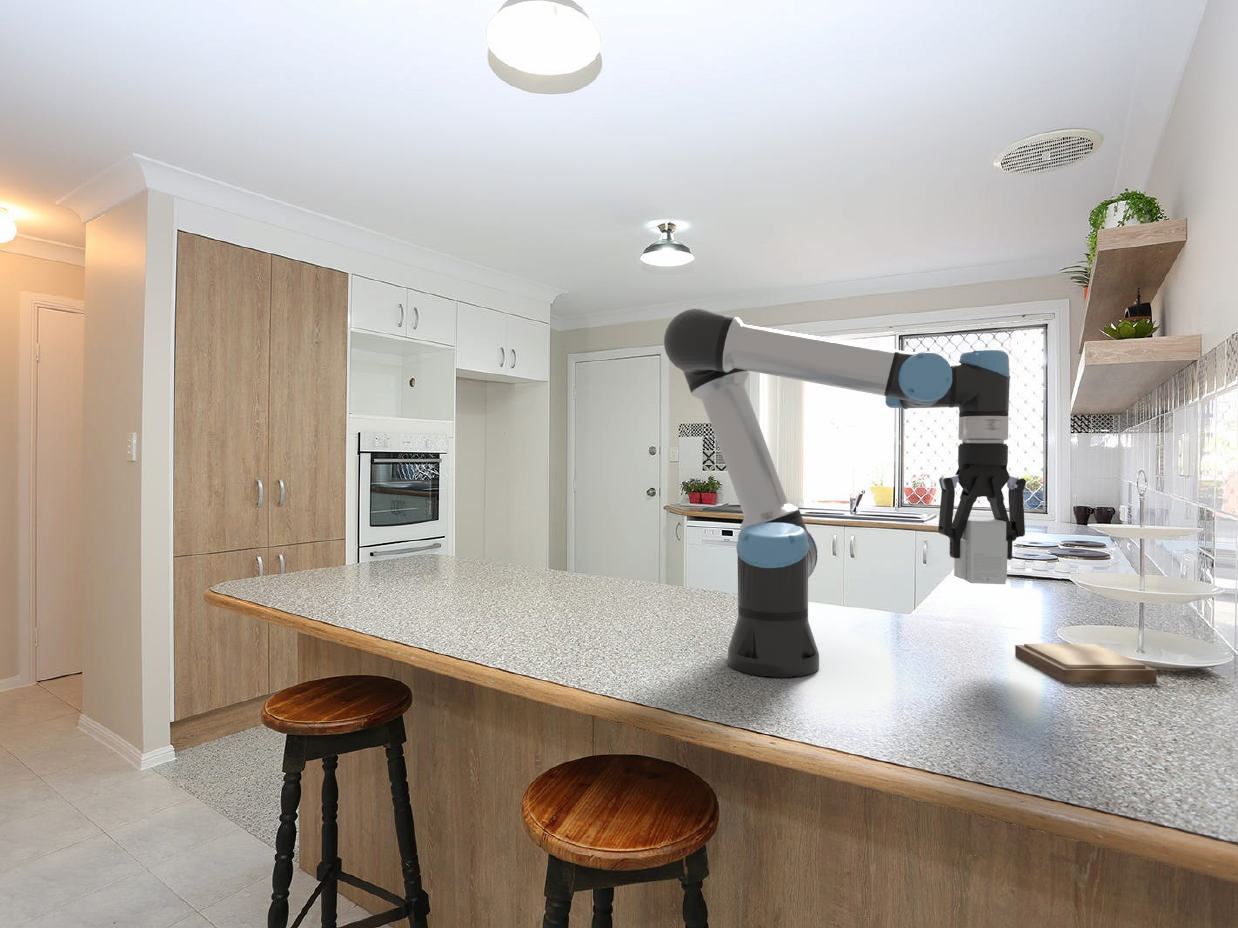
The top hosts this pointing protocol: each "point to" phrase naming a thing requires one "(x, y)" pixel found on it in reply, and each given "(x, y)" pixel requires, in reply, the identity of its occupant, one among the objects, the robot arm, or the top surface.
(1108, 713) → the top surface
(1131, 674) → the stand
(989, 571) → the small box
